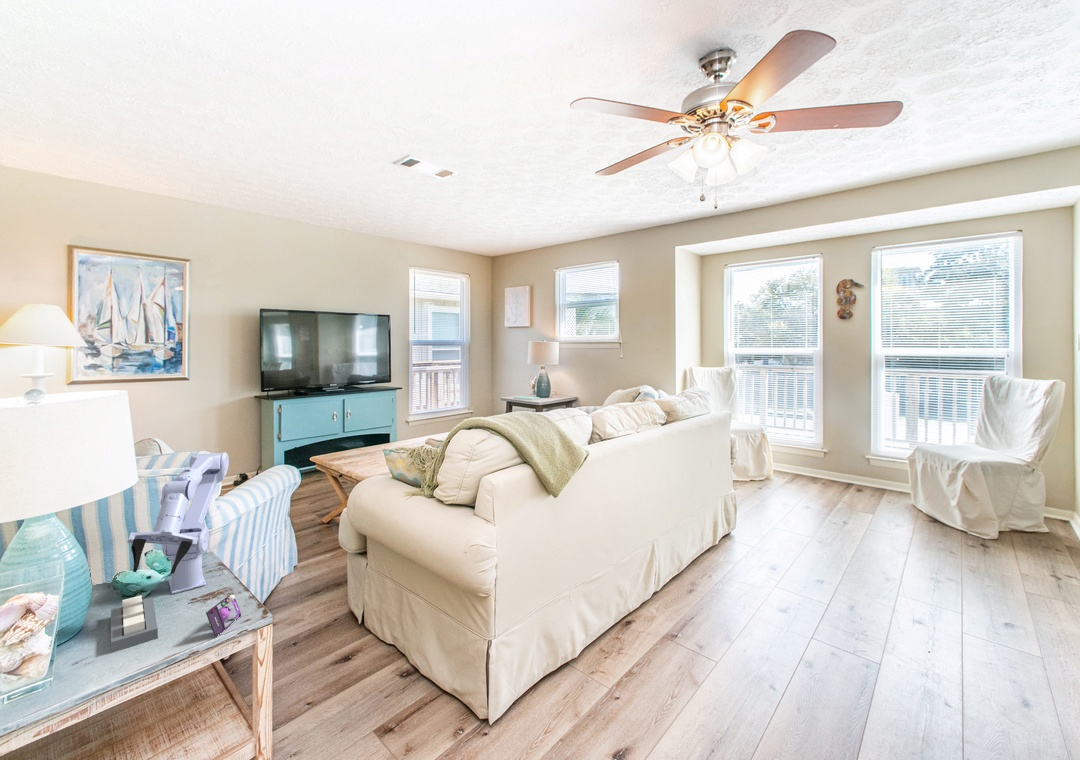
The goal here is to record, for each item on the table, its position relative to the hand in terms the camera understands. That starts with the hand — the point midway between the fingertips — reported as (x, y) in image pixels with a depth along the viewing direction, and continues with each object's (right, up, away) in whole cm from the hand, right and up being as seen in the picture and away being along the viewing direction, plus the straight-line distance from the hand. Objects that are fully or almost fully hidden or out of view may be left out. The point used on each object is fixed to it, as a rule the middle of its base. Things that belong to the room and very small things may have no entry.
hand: (154, 571), depth 120 cm
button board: (-5, -14, 0) cm, 15 cm away
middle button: (-5, -12, 0) cm, 13 cm away
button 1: (-8, -12, +4) cm, 15 cm away
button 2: (-1, -13, -4) cm, 14 cm away
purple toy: (+16, -15, +1) cm, 22 cm away
